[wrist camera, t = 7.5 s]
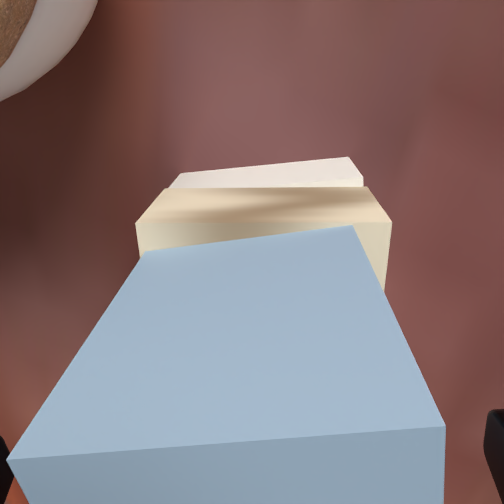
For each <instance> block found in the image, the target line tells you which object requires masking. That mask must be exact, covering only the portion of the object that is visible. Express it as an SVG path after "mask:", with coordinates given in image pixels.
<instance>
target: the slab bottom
mask: <svg viewBox="0 0 504 504" xmlns="http://www.w3.org/2000/svg"><path fill="white" fill-rule="evenodd" d="M267 187H363V176H362V175H361V173H360V172H359V171H358V169H357V168H356V167H355V165H354V164H353V162H352V161H351V160H350V158H349V157H342V158H332V159H321V160H311V161H301V162H291V163H281V164H271V165H261V166H251V167H240V168H230V169H220V170H210V171H200V172H190V173H180V175H179V176H178V177H177V178H176V179H175V181H174V182H173V183H172V184H171V186H170V187H169V188H267Z"/></svg>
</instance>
